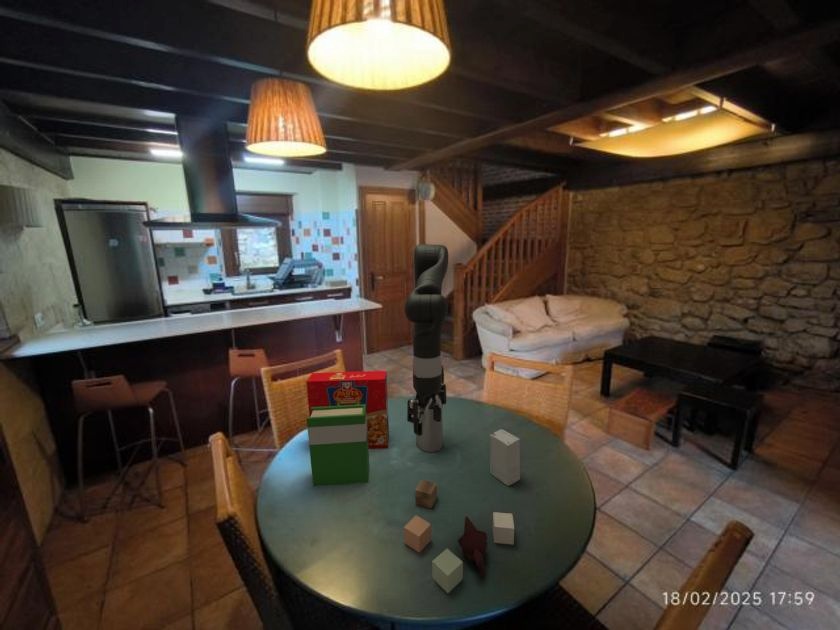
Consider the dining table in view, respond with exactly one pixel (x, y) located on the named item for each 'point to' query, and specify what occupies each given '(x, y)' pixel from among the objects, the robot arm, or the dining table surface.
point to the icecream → (474, 545)
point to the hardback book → (338, 445)
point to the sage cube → (447, 570)
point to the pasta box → (355, 398)
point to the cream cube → (503, 528)
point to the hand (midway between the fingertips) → (428, 427)
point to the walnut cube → (426, 494)
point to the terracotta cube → (417, 533)
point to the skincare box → (505, 457)
